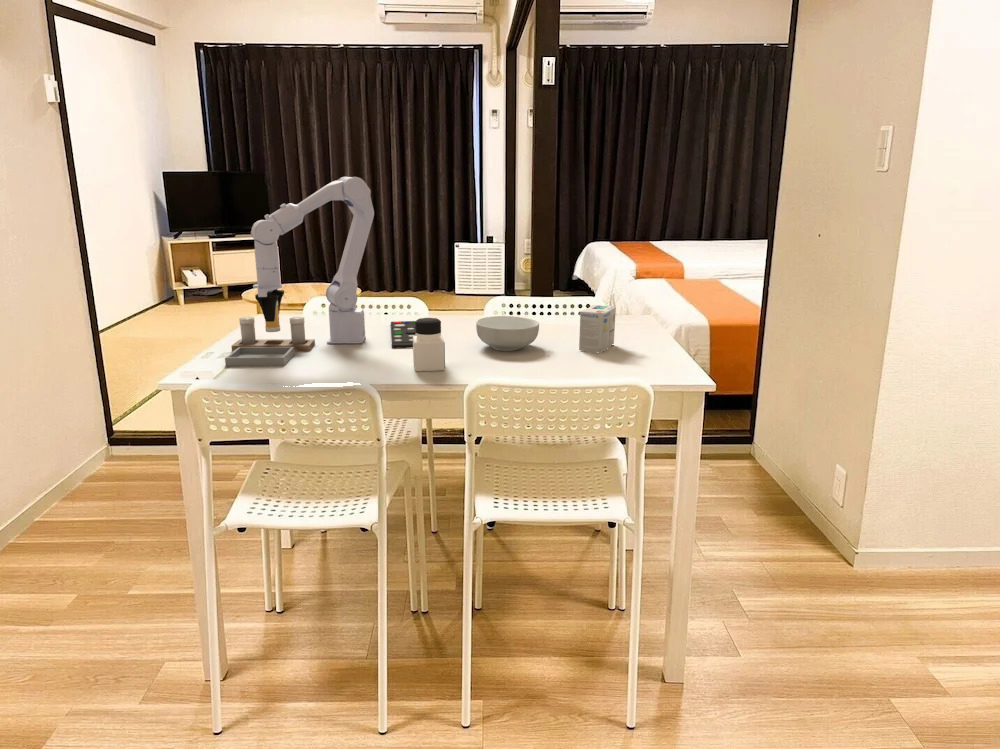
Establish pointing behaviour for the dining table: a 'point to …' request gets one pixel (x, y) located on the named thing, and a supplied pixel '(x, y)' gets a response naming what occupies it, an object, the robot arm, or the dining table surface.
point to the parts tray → (260, 356)
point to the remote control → (402, 334)
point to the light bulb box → (597, 328)
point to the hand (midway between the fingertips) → (272, 319)
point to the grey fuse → (297, 330)
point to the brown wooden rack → (277, 344)
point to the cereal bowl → (507, 332)
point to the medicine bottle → (428, 345)
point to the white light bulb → (247, 330)
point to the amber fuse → (273, 325)
